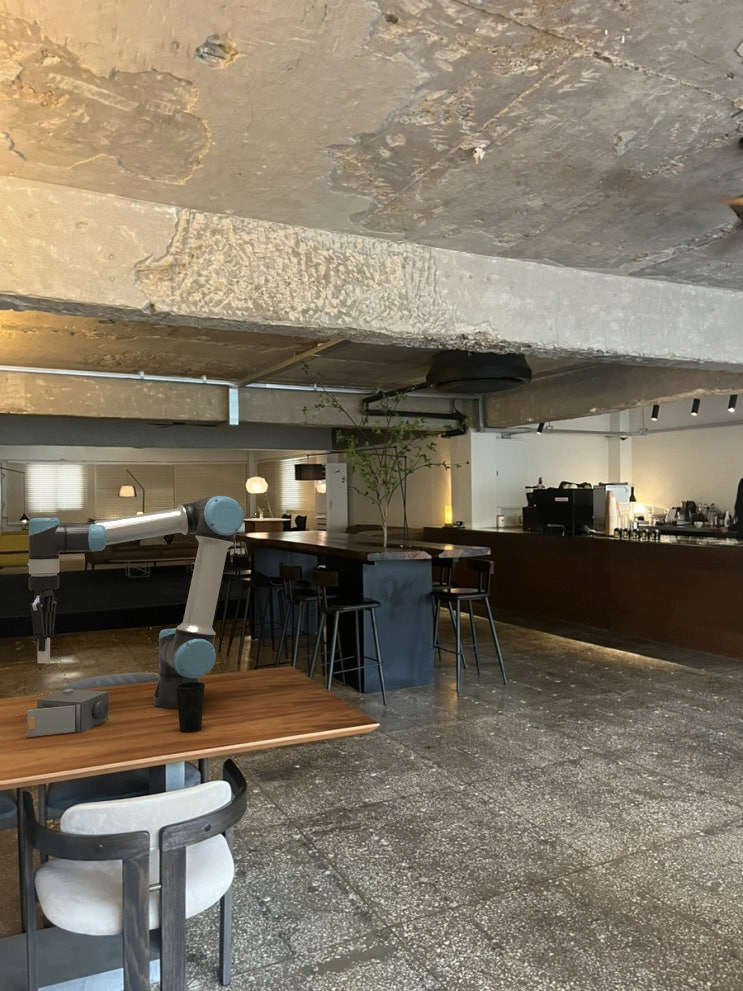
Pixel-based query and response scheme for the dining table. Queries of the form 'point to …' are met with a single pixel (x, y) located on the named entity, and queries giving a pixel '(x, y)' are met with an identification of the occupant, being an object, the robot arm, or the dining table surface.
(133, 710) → the dining table surface
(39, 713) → the side door
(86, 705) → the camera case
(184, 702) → the cup
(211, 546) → the robot arm
